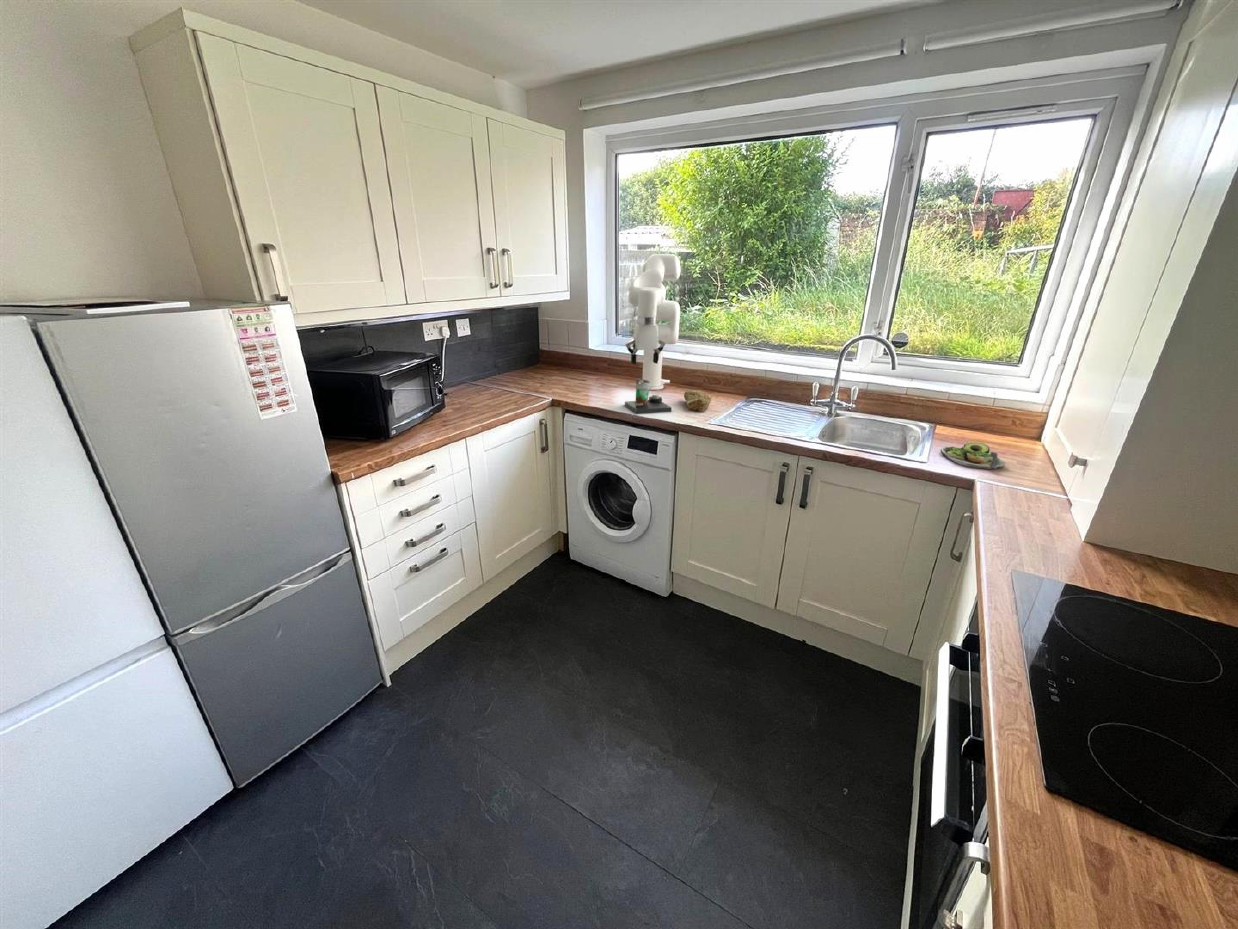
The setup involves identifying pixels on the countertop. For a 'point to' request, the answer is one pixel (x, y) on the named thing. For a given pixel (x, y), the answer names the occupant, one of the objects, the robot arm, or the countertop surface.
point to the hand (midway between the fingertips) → (644, 363)
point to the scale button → (655, 396)
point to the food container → (642, 392)
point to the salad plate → (973, 456)
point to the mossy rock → (697, 400)
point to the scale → (649, 406)
